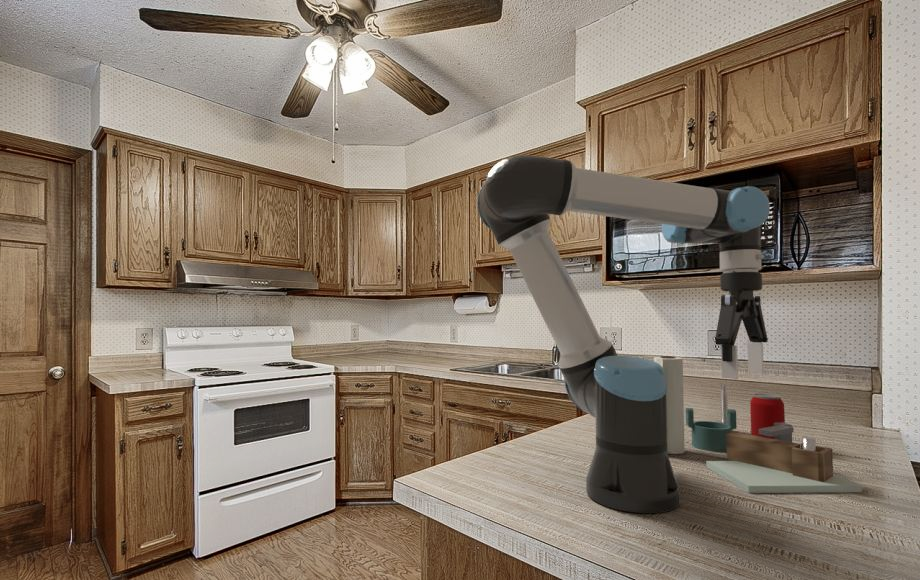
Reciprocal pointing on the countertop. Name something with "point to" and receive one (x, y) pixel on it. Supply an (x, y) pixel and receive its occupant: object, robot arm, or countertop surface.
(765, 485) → the base board
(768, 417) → the beverage can
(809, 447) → the cylinder
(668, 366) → the paper towel roll
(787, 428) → the keeper
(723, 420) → the screw
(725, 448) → the teal hollow cylinder
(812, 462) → the link
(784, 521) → the countertop surface
